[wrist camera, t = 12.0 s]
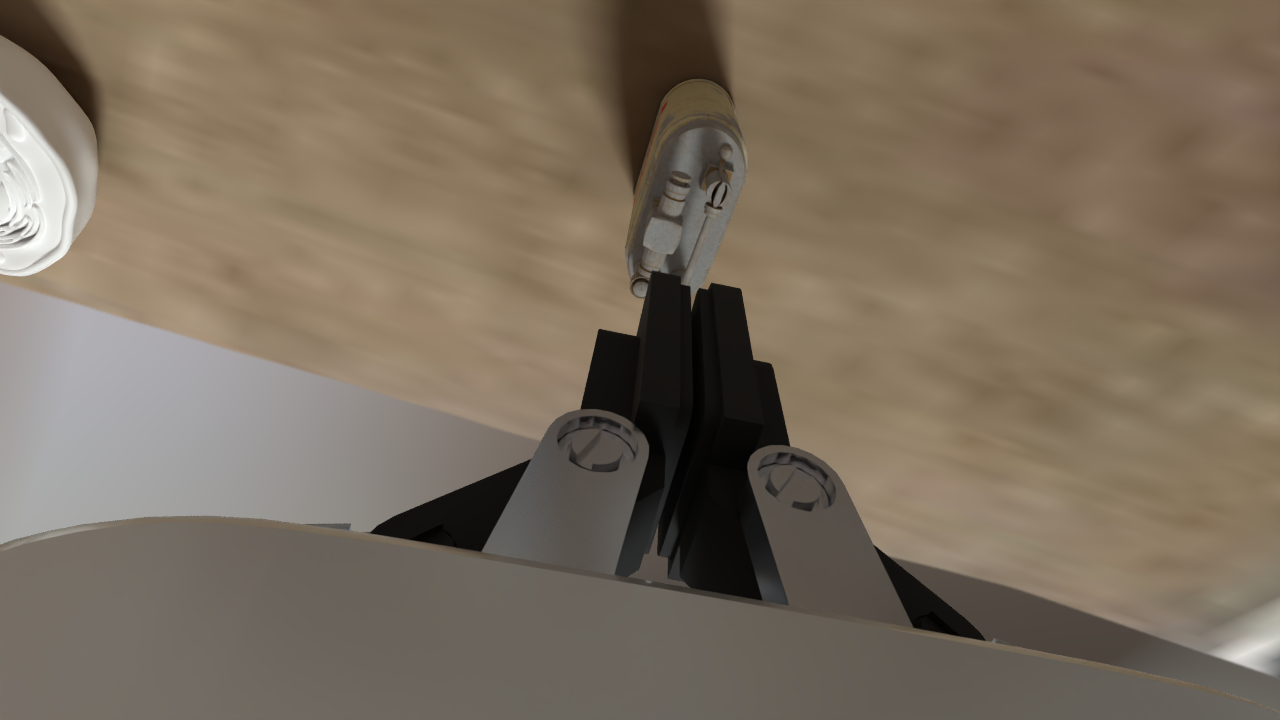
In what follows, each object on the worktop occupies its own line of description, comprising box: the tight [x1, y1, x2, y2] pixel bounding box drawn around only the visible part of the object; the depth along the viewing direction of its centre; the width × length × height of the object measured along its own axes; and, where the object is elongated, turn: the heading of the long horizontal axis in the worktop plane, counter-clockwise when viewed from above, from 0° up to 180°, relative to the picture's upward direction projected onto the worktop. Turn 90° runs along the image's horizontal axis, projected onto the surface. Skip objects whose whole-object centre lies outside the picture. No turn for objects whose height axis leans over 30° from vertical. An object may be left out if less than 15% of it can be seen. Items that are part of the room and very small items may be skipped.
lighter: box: [625, 79, 748, 299], centre depth 24 cm, size 7×4×10 cm, turn 163°
